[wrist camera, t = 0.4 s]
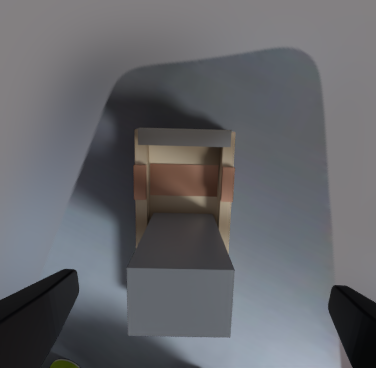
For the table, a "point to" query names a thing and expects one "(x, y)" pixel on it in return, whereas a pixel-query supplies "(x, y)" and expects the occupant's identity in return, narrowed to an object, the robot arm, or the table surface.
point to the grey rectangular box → (180, 279)
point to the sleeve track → (184, 175)
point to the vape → (64, 364)
